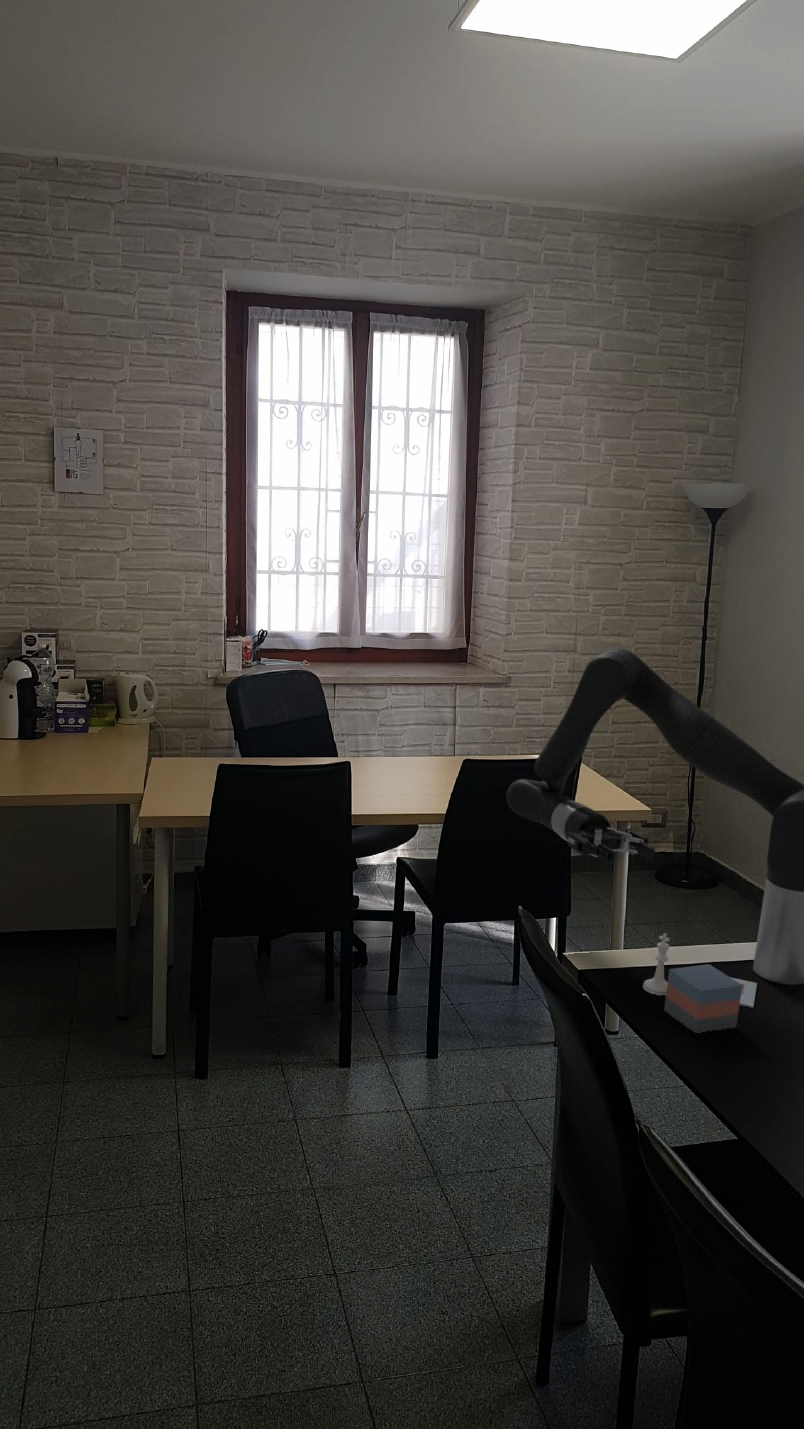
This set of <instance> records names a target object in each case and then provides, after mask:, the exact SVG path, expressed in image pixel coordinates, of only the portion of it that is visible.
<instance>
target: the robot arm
mask: <svg viewBox="0 0 804 1429" xmlns="http://www.w3.org/2000/svg"><path fill="white" fill-rule="evenodd" d="M620 700H625V701H626V702H628V703H630V704H632V705H633V706H634V707H635V708H637V709H638V710H640V711H641V712H643V713H644V715H646V716H647V717H648V718H649V719H650V720H652V722H653V723H654V724H655V726H656V727H657V729H658V731H659V732H660V733H661V735H662V736H663V738H664V739H665V740H666V741H665V742H667V744H668V745H669V747H671V749H672V750H673V751H674V752H675V753H676V754H677V756H679V757H680V758H682V759H683V760H684V761H685V762H686V763H687V764H689V765H690V766H692V767H693V768H695V769H696V770H697V771H698V772H700V773H701V774H703V775H705V776H706V777H708V778H709V779H711V780H712V781H715V782H717V783H719V784H721V785H724V786H726V787H728V788H729V789H730V788H731V790H734V791H736V792H739V793H742V794H743V795H745V796H747V797H748V798H750V799H751V800H752V801H754V802H755V803H757V804H758V805H759V806H761V807H762V808H763V809H764V810H765V811H767V813H769V814H770V815H771V816H772V819H771V820H772V821H771V826H770V832H769V840H768V848H767V855H766V856H767V857H766V866H767V870H766V878H765V885H764V891H763V892H764V893H763V898H762V905H761V911H760V920H759V924H758V925H759V927H758V933H757V939H756V945H755V952H754V959H753V965H752V966H753V967H752V970H753V972H755V974H756V975H758V976H760V977H761V978H763V979H766V980H768V981H770V982H773V983H776V984H783V985H789V986H790V985H791V986H793V985H795V986H796V985H801V984H804V784H803V783H802V782H800V781H798V780H796V779H795V778H793V777H792V776H791V775H789V774H787V773H786V772H784V771H782V770H780V769H779V768H778V767H777V766H775V765H774V764H773V763H771V762H770V761H769V760H767V758H765V757H764V756H763V755H762V754H761V753H759V752H758V751H757V750H756V749H754V748H753V747H752V746H751V745H749V744H748V743H747V741H744V739H742V738H740V737H739V735H737V734H736V733H735V732H733V731H732V730H731V729H729V727H727V726H726V725H724V724H723V723H722V722H720V721H719V720H717V719H716V718H715V717H713V716H712V715H710V714H709V713H708V712H706V711H705V710H703V709H702V708H700V706H698V705H697V704H695V703H694V702H693V701H691V700H690V699H688V698H687V697H685V695H682V694H681V693H680V692H679V691H677V690H676V689H675V688H673V687H672V686H670V685H669V684H668V683H667V682H666V681H665V680H664V679H663V678H662V677H660V676H659V675H658V674H657V673H656V672H655V671H654V670H653V669H652V668H651V667H650V666H648V665H647V664H646V662H644V661H643V660H642V659H641V658H640V657H639V656H638V655H636V654H635V653H633V652H632V651H630V650H627V649H624V648H612V649H610V650H607V651H605V652H604V651H603V653H600V654H598V655H596V656H594V657H593V658H591V659H590V661H589V662H588V663H587V665H586V667H585V669H584V671H583V673H582V676H581V679H580V680H579V683H578V685H577V688H576V690H575V693H574V695H573V697H572V699H571V701H570V704H569V706H568V708H567V710H566V712H565V714H564V715H563V717H562V719H561V721H560V722H559V724H558V726H557V727H556V729H555V730H554V732H553V733H552V735H551V736H550V737H549V740H548V741H547V743H546V744H545V746H544V747H543V748H542V751H540V753H539V755H538V757H537V759H536V760H535V762H534V772H535V773H536V775H537V776H538V777H539V778H540V779H541V780H542V781H538V780H533V779H527V778H526V779H524V778H523V779H522V778H521V779H517V780H515V781H513V782H512V783H511V784H510V785H509V787H508V788H507V791H506V801H507V805H508V806H509V808H510V809H511V811H513V813H515V814H516V815H518V816H520V817H522V818H525V819H527V820H529V821H533V822H536V823H539V824H540V825H541V824H542V825H544V826H545V827H547V828H548V829H549V830H551V831H553V832H554V833H556V834H557V835H558V836H560V838H562V839H563V840H565V841H566V842H567V846H568V847H570V848H571V849H573V850H574V851H575V852H577V853H578V854H580V855H581V856H583V857H589V855H591V856H592V857H594V858H600V859H602V860H603V861H605V862H606V863H607V864H615V861H616V855H617V854H616V853H617V852H619V853H620V852H621V853H624V854H625V853H627V854H628V853H629V852H630V853H634V854H637V855H639V856H640V857H643V858H644V859H645V860H647V861H653V860H654V858H655V853H656V850H655V848H654V847H652V846H650V845H649V842H650V838H649V837H648V836H646V835H644V834H641V833H640V832H637V831H636V830H633V829H631V828H629V827H626V828H625V829H624V831H622V830H621V831H620V830H617V829H616V828H615V827H612V826H611V824H610V822H609V820H608V819H607V817H606V816H604V815H603V814H601V813H599V812H597V811H596V810H594V809H593V808H590V807H589V806H587V805H585V804H583V803H580V802H578V801H576V800H573V799H571V798H569V797H568V796H567V795H566V796H565V795H563V793H564V790H565V786H566V783H567V780H568V778H569V777H570V775H571V773H572V772H573V770H574V769H575V767H576V766H577V765H578V763H579V762H580V759H582V757H583V755H584V752H585V750H586V748H587V745H588V744H589V741H590V737H591V735H592V732H593V731H594V730H595V727H596V726H597V724H598V723H599V722H600V720H601V718H603V716H604V715H605V714H606V713H607V712H608V711H609V709H610V708H612V706H613V705H614V704H615V703H617V702H618V701H620ZM622 842H623V843H624V846H623V847H622ZM616 851H617V852H616Z"/></svg>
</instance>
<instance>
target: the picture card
mask: <svg viewBox="0 0 804 1429" xmlns="http://www.w3.org/2000/svg"><path fill="white" fill-rule="evenodd" d="M729 977H730V976H729ZM730 978H732V979H733V980H735V981H736V982H738V983H740V984H741V985H742V991H741V998H740V1005H739V1006H741V1007H742V1006H743V1007H746V1006H747V1007H748V1008H751V1009H754V1005H755V1000H756V998H755V997H756V992H757V985H758V983H757V982H754V981H749V980H745V979H740V978H735V977H730Z"/></svg>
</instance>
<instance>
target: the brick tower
mask: <svg viewBox="0 0 804 1429" xmlns="http://www.w3.org/2000/svg"><path fill="white" fill-rule="evenodd" d="M667 976H668V977H667V982H668V984H667V991H666V995H665V1000H664V1006H663V1007H664V1009H663V1011H664V1012H665V1011H666V1012H667V1013H666V1012H665V1013H666V1014H668V1013H669V1014H670V1015H669V1014H668V1015H669V1016H670V1017H672V1018H673V1019H674V1020H676V1021H678V1022H679V1021H680V1022H679V1023H680V1024H681V1023H683V1024H682V1025H683V1026H684V1025H685V1026H686V1027H685V1026H684V1027H685V1028H687V1029H688V1028H689V1029H690V1031H691V1030H693V1032H692V1033H694V1032H695V1033H699V1034H702V1033H701V1032H705V1033H707V1032H706V1031H711V1032H713V1031H712V1030H717V1031H723V1029H724V1030H727V1029H726V1028H730V1029H734V1028H735V1027H736V1028H737V1025H738V1018H739V1010H740V1006H741V1005H740V998H741V991H742V985H741V984H740V983H738V982H736V981H735V980H733V979H732V978H733V977H731V978H730V976H729V975H727V974H725V973H724V972H723V971H721V970H719V969H717V968H716V967H714V966H713V965H711V964H710V963H709V964H699V965H692V966H686V967H685V966H684V967H676V968H670V969H669V970H668V975H667ZM689 1029H688V1030H689ZM721 1029H722V1030H721ZM695 1033H694V1034H695Z"/></svg>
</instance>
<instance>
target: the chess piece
mask: <svg viewBox="0 0 804 1429" xmlns="http://www.w3.org/2000/svg"><path fill="white" fill-rule="evenodd" d="M658 939H660V940H661V942H658V943H656V946H657V950H658V954H656V955H655V957H654V959H655V960H656V961H657V964H656V968H655V973H654V977H652V978H649V979H646V980H644V982H643V985H642V988H643V990H644V991H645V992H647V993H649V994H652V995H655V994H656V996H661V995H665V996H666V991H667V984H668V981H667V980H666V979H665V962H668V961H669V959H668V958H669V957H667V956H666V954H667V953H668V951H669V948H670V945H669V943H666V942H670V940H671V939H670V937H667V933H663V934H662V935H658Z"/></svg>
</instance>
